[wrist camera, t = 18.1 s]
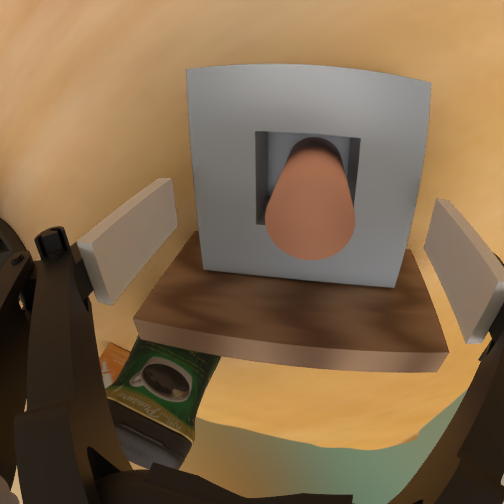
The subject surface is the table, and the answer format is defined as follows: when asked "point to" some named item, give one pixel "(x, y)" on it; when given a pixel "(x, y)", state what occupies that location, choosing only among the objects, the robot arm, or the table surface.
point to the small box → (112, 363)
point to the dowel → (311, 202)
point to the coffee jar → (159, 402)
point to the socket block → (278, 149)
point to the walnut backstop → (295, 318)
